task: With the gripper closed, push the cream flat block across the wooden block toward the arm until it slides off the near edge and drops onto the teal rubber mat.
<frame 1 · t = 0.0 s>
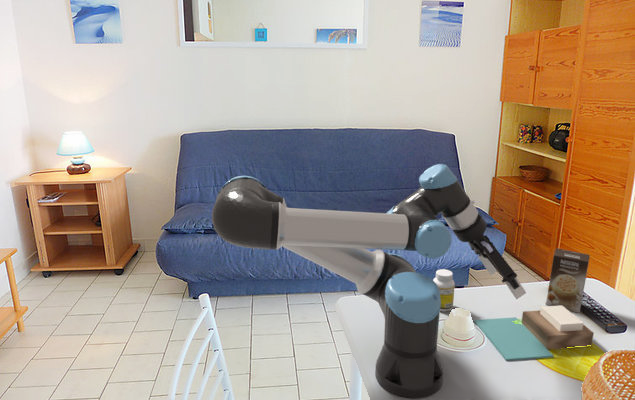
hand: (507, 282, 120), 15 cm above the table, tool tilted 35°, fingers open, 13 cm apart
cream flat block: (560, 321, 123), point 4 cm above the table, touching wooden block
mat: (511, 338, 123), on the table
coffee box: (563, 305, 140), on the table
pill bottle: (441, 307, 139), on the table
wooden block: (554, 335, 124), on the table
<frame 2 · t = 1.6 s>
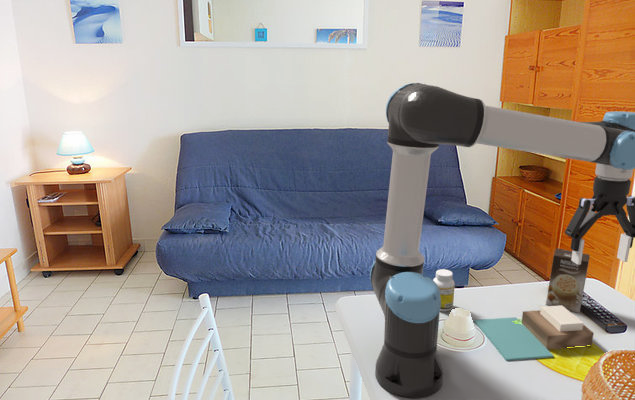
hand: (599, 261, 119), 21 cm above the table, tool pointing down, fingers open, 12 cm apart
nothing on the table moved.
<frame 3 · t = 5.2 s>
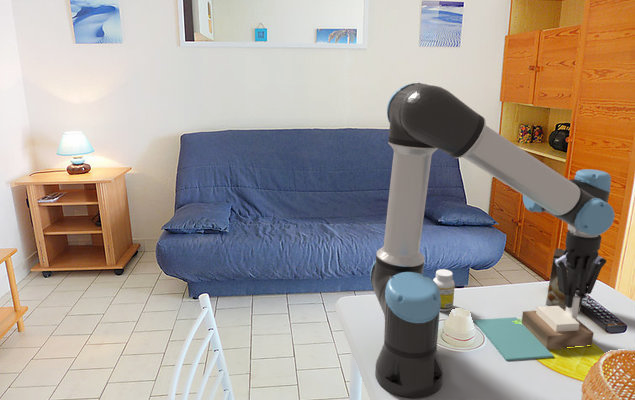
hand: (570, 317, 123), 5 cm above the table, tool pointing down, fingers closed
cream flat block: (556, 321, 123), point 4 cm above the table, touching wooden block, gripper
everything else where it was.
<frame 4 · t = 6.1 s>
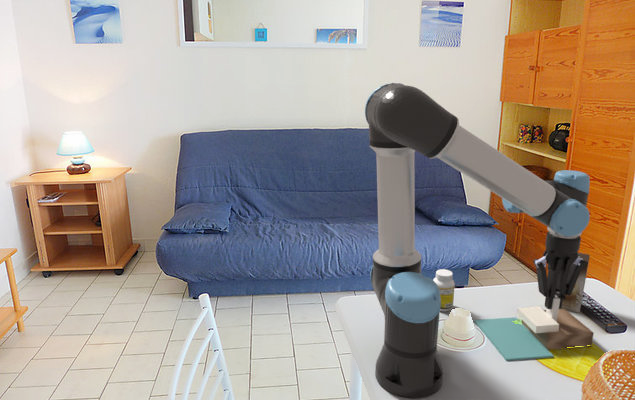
hand: (550, 319, 123), 5 cm above the table, tool pointing down, fingers closed
cream flat block: (537, 322, 123), point 4 cm above the table, touching gripper
everything else where it was.
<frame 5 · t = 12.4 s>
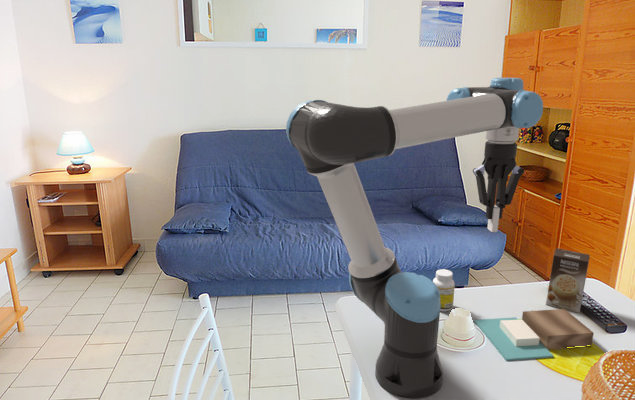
hand: (492, 230, 125), 26 cm above the table, tool pointing down, fingers closed
cream flat block: (518, 335, 123), resting on mat
everything else where it was.
at the end: cream flat block inside the target area (2.0 cm from its centre), point 0.5 cm above the table; cream flat block point 0.5 cm above the table; cream flat block touching mat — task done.
